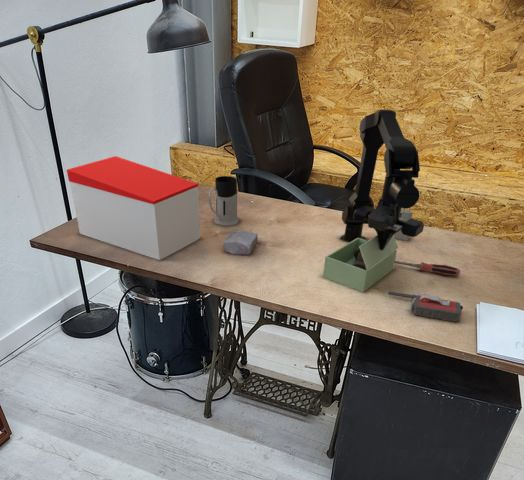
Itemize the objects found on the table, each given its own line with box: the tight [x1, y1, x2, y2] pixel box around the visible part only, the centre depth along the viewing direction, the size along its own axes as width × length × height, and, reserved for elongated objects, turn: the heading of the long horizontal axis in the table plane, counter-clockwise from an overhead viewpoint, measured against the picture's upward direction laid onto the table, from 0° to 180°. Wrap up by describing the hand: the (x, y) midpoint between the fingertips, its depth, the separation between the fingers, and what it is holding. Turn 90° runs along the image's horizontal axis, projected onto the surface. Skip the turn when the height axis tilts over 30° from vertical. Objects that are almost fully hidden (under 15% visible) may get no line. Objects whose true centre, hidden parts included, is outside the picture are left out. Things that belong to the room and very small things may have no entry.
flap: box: [359, 235, 399, 269], centre depth 135 cm, size 19×7×1 cm
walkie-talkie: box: [386, 290, 464, 323], centre depth 126 cm, size 9×4×20 cm
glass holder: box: [208, 175, 239, 227], centre depth 167 cm, size 9×14×15 cm, turn 148°
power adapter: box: [394, 208, 414, 242], centre depth 163 cm, size 3×5×12 cm, turn 62°
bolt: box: [352, 248, 367, 270], centre depth 142 cm, size 6×5×15 cm
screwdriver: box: [394, 260, 461, 277], centre depth 146 cm, size 25×3×3 cm, turn 73°
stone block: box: [222, 230, 259, 256], centre depth 154 cm, size 12×5×10 cm
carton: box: [322, 238, 398, 293], centre depth 141 cm, size 19×14×6 cm
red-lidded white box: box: [66, 155, 201, 261], centre depth 153 cm, size 21×35×21 cm, turn 59°
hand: (381, 249), depth 135 cm, fingers closed
